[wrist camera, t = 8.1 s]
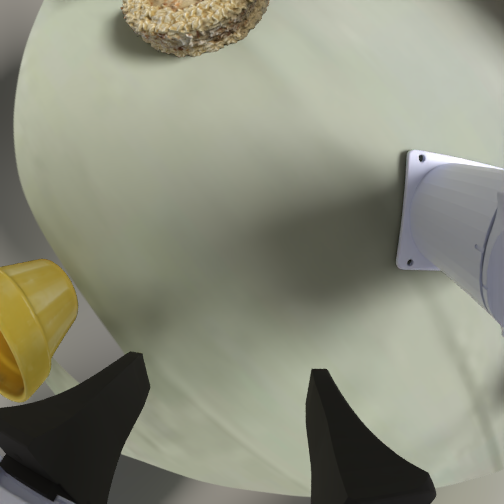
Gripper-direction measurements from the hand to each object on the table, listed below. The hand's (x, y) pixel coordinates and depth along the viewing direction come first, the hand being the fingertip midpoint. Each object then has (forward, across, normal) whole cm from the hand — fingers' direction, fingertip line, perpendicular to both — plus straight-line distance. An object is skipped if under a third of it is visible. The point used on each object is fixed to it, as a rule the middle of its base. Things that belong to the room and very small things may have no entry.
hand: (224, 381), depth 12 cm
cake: (+10, +4, -20) cm, 23 cm away
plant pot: (+10, +18, +2) cm, 20 cm away
